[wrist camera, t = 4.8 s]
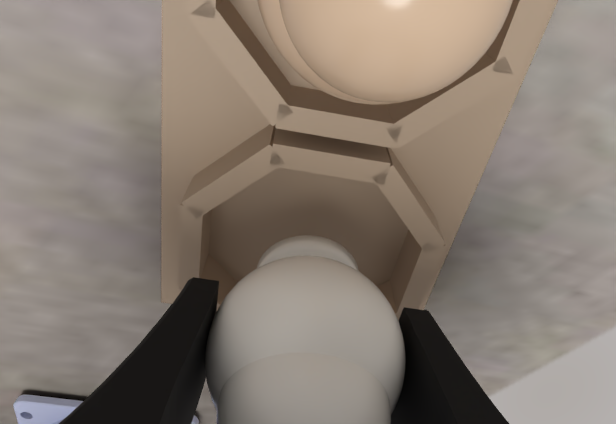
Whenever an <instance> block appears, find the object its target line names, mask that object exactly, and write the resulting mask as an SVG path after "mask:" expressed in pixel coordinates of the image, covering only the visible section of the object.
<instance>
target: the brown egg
mask: <svg viewBox="0 0 616 424" xmlns="http://www.w3.org/2000/svg"><path fill="white" fill-rule="evenodd" d="M257 1H258V6H259V9H260V12H261V16H262V19H263V22H264V24H265V27H266V29H267V31H268V33H269V35H270V38H271V39H272V41H273V43H274V44H275V46H276V48H277V49H278V51H279V52H280V54H281V55H282V56H283V58H284V59H285V60H286V61H287V63H288V64H289V65H290V66H291V67H292V68H293V69H294V70H295V71H296V72H297V73H298V74H299V75H300V76H301V77H302V78H303V79H305V80H306V81H307V82H309V83H310V84H311V85H313V86H314V87H316V88H318V89H319V90H321V91H323V92H325V93H327V94H329V95H332V96H334V97H337V98H339V99H342V100H346V101H350V102H354V103H362V104H371V105H378V104H393V103H400V102H404V101H409V100H413V99H417V98H421V97H424V96H427V95H429V94H432V93H434V92H437V91H439V90H441V89H442V88H444V87H446V86H448V85H450V84H451V83H453V82H454V81H456V80H457V79H458V78H460V77H461V76H463V75H464V74H465V73H466V72H467V71H468V70H469V69H471V68H472V67H473V66H474V65H475V64H476V63H477V62H478V61H479V59H480V58H481V57H482V56H483V55H484V54H485V53H486V51H487V50H488V49H489V47H490V46H491V44H492V43H493V42H494V40H495V38H496V37H497V35H498V33H499V32H500V30H501V28H502V26H503V24H504V22H505V20H506V17H507V15H508V13H509V10H510V7H511V4H512V1H513V0H257Z"/></svg>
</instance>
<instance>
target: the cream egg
mask: <svg viewBox="0 0 616 424" xmlns="http://www.w3.org/2000/svg"><path fill="white" fill-rule="evenodd" d="M405 364H406V356H405V345H404V339H403V335H402V331H401V328H400V324H399V321H398V319H397V317H396V315H395V313H394V311H393V309H392V307H391V305H390V303H389V302H388V300H387V299H386V297H385V296H384V295H383V293H382V292H381V291H380V289H379V288H378V287H377V286H376V285H375V284H374V283H373V282H372V281H370V280H369V279H368V278H367V277H366V276H364V275H363V274H362V273H361V272H359V270H358V266H357V263H356V261H355V259H354V257H353V256H352V255H351V253H350V252H349V251H348V250H347V249H346V248H344V247H343V246H342V245H340V244H338V243H337V242H335V241H333V240H330V239H327V238H324V237H320V236H312V235H301V236H294V237H290V238H286V239H284V240H281V241H279V242H277V243H275V244H274V245H272V246H271V247H270V248H269V249H267V250H266V252H265V253H264V254H263V255H262V257H261V258H260V260H259V262H258V265H257V269H255V270H254V271H252V272H250V273H249V274H248V275H247V276H245V277H244V278H243V279H242V280H240V281H239V282H238V283H237V284H236V285H235V286H234V287H233V289H232V290H231V291H230V292H229V293H228V294H227V296H226V297H225V298H224V300H223V302H222V303H221V305H220V307H219V308H218V310H217V312H216V314H215V316H214V319H213V321H212V324H211V327H210V330H209V334H208V339H207V344H206V350H205V372H206V378H207V384H208V388H209V392H210V395H211V398H212V401H213V403H214V405H215V408H216V410H217V424H391V414H392V412H393V411H394V409H395V407H396V404H397V402H398V399H399V396H400V394H401V391H402V386H403V382H404V376H405Z"/></svg>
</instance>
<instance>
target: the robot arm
mask: <svg viewBox="0 0 616 424" xmlns="http://www.w3.org/2000/svg"><path fill="white" fill-rule="evenodd" d="M218 289H219V281H216V280H209V279H202V278H195V277H193V278H191V279H189V280H188V281H187V283H186V284H185V286H184V288H183V289H182V291H181V292H180V294H179V295H178V296H177V298H176V299H175V301H174V302H173V303H172V305H171V306H170V307H169V309H168V310H167V311H166V313H165V314H164V315H163V316H162V318H161V319H160V320H159V321H158V323H157V324H156V325H155V326H154V327H153V329H152V330H151V331H150V332H149V333H148V334H147V336H146V337H145V338H144V339H143V340H142V342H141V343H140V344H139V345H138V346H137V347H136V348H135V350H134V351H133V352H132V353H131V354H130V355H129V356H128V357H127V358H126V359H125V360H124V361H123V362H122V363H121V364H120V365H119V367H118V368H117V369H116V370H115V371H114V372H113V373H112V374H111V375H110V376H109V377H108V378H107V379H106V380H105V381H104V382H103V383H102V384H101V385H100V386H99V387H98V388H97V389H96V390H95V391H94V392H93V393H92V394H91V395H90V396H89V397H88V398H87V399H85V400H84V401H79V400H71V399H62V398H53V397H45V396H36V395H21V396H19V397H18V398H17V399H16V401H15V403H14V406H13V407H14V410H15V414H16V417H17V421H18V424H199V420H198V418H197V417H196V416H195V415H194V414H195V411H196V408H197V404H198V401H199V398H200V395H201V392H202V389H203V386H204V383H205V379H206V372H205V350H206V344H207V339H208V334H209V330H210V327H211V324H212V321H213V319H214V316H215V314H216V311H217V300H218ZM398 321H399V324H400V328H401V331H402V335H403V339H404V345H405V356H406V364H405V376H404V382H403V386H402V391H401V394H400V396H399V399H398V402H397V404H396V407H395V409H394V411H393V412H392V414H391V424H509V423H508V422H507V421H506V419H505V418H504V417H503V416H502V414H501V413H500V412H499V411H498V409H497V408H496V407H495V406H494V404H493V403H492V401H491V400H490V399H489V398H488V396H487V395H486V394H485V392H484V391H483V389H482V388H481V387H480V385H479V384H478V382H477V381H476V380H475V378H474V377H473V376H472V374H471V373H470V371H469V370H468V369H467V367H466V366H465V364H464V363H463V361H462V360H461V358H460V357H459V356H458V354H457V353H456V351H455V350H454V348H453V347H452V345H451V344H450V342H449V341H448V339H447V338H446V336H445V335H444V333H443V332H442V330H441V329H440V327H439V326H438V324H437V323H436V321H435V320H434V319H433V317H432V316H431V314H430V313H429V311H427V310H419V309H412V308H405V307H404V308H403V310H402V313H401V315H400V318H399V320H398Z"/></svg>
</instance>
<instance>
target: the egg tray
mask: <svg viewBox="0 0 616 424" xmlns="http://www.w3.org/2000/svg"><path fill="white" fill-rule="evenodd" d="M557 2H558V0H513V1H512V4H511V7H510V10H509V13H508V15H507V17H506V20H505V22H504V24H503V26H502V28H501V30H500V32H499V33H498V35H497V37H496V38H495V40H494V42H493V43H492V44H491V46H490V47H489V49H488V50H487V51H486V53H485V54H484V55H483V56H482V57H481V58H480V59H479V61H478V62H477V63H476V64H475V65H474V66H473V67H472V68H471V69H469V70H468V71H467V72H466V73H465V74H464V75H463V76H461V77H460V78H458V79H457V80H456V81H454V82H453V83H451V84H450V85H448V86H446V87H444V88H442V89H441V90H439V91H437V92H434V93H432V94H429V95H427V96H424V97H421V98H417V99H413V100H409V101H404V102H400V103H393V104H378V105H371V104H362V103H354V102H350V101H346V100H342V99H339V98H337V97H334V96H332V95H329V94H327V93H325V92H323V91H321V90H319V89H318V88H316V87H314V86H313V85H311V84H310V83H309V82H307V81H306V80H305V79H303V78H302V77H301V76H300V75H299V74H298V73H297V72H296V71H295V70H294V69H293V68H292V67H291V66H290V65H289V64H288V63H287V61H286V60H285V59H284V58H283V56H282V55H281V54H280V52H279V51H278V49H277V48H276V46H275V44H274V43H273V41H272V39H271V38H270V35H269V33H268V31H267V29H266V27H265V24H264V22H263V19H262V16H261V12H260V9H259V6H258V1H257V0H162V154H161V302H163V303H170V304H172V303H173V302H174V301H175V299H176V298H177V296H178V295H179V294H180V292H181V291H182V289H183V288H184V286H185V284H186V283H187V281H188V280H189V279H191V278H193V277H195V278H202V279H209V280H216V281H219V289H218V300H217V310H218V308H219V307H220V305H221V303H222V302H223V300H224V298H225V297H226V296H227V294H228V293H229V292H230V291H231V290H232V289H233V287H234V286H235V285H236V284H237V283H238V282H239V281H240V280H242V279H243V278H244V277H245V276H247V275H248V274H249V273H250V272H252V271H254V270H255V269H257V265H258V262H259V260H260V258H261V257H262V255H263V254H264V253H265V252H266V250H267V249H269V248H270V247H271V246H272V245H274V244H275V243H277V242H279V241H281V240H284V239H286V238H290V237H294V236H301V235H312V236H320V237H324V238H327V239H330V240H333V241H335V242H337V243H338V244H340V245H342V246H343V247H344V248H346V249H347V250H348V251H349V252H350V253H351V255H352V256H353V257H354V259H355V261H356V263H357V266H358V270H359V272H361V273H362V274H363V275H364V276H366V277H367V278H368V279H369V280H370V281H372V282H373V283H374V284H375V285H376V286H377V287H378V288H379V289H380V291H381V292H382V293H383V295H384V296H385V297H386V299H387V300H388V302H389V303H390V305H391V307H392V309H393V311H394V313H395V315H396V317H397V319H398V320H399V318H400V315H401V313H402V310H403V308H404V307H405V308H412V309H419V310H424V308H425V305H426V303H427V301H428V298H429V296H430V294H431V292H432V289H433V287H434V285H435V282H436V280H437V278H438V275H439V273H440V271H441V269H442V266H443V264H444V262H445V259H446V257H447V255H448V252H449V250H450V248H451V246H452V243H453V241H454V239H455V236H456V234H457V232H458V229H459V227H460V225H461V223H462V220H463V218H464V216H465V213H466V211H467V209H468V206H469V204H470V202H471V200H472V197H473V195H474V193H475V190H476V188H477V186H478V183H479V181H480V179H481V177H482V174H483V172H484V170H485V167H486V165H487V163H488V160H489V158H490V156H491V154H492V151H493V149H494V147H495V144H496V142H497V140H498V137H499V135H500V133H501V131H502V128H503V126H504V124H505V121H506V119H507V117H508V114H509V112H510V110H511V108H512V105H513V103H514V101H515V98H516V96H517V94H518V91H519V89H520V87H521V85H522V82H523V80H524V78H525V75H526V73H527V71H528V68H529V66H530V64H531V62H532V59H533V57H534V55H535V52H536V50H537V48H538V45H539V43H540V41H541V39H542V36H543V34H544V32H545V29H546V27H547V25H548V22H549V20H550V18H551V16H552V13H553V11H554V9H555V6H556V4H557ZM216 312H217V311H216Z"/></svg>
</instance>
